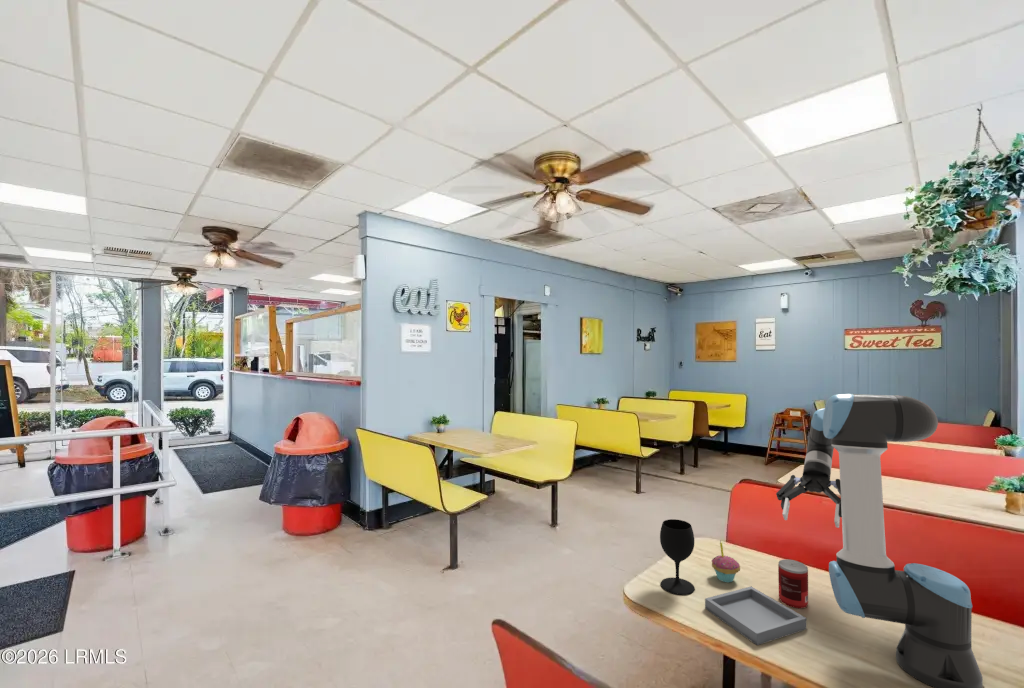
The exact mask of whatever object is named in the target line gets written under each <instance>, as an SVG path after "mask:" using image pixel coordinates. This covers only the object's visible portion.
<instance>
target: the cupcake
mask: <svg viewBox="0 0 1024 688" xmlns="http://www.w3.org/2000/svg"><path fill="white" fill-rule="evenodd" d="M719 541H720V542H719V545H720V555H717V556H715V557H713V558H712V560H711V567H712V569H713V570H714V571H715V574H716V577H717V579H718V580H719V581H721V582H724V583H732V582H733V581H734V580H735V577H736V574H737V573H739V572H740V570H741V565H740V563H739V562H738V561H737V560H735V558H734V557H731V556H728V555H724V554H725V553H724V547H723V542H722V541H721V540H719Z"/></svg>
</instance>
